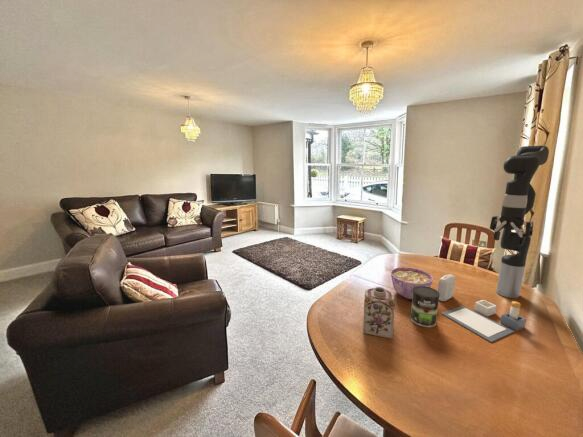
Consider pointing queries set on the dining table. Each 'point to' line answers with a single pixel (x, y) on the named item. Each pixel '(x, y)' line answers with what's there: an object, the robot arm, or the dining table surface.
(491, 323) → the writing board
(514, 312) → the marker
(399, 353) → the dining table surface
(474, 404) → the dining table surface
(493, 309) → the cup
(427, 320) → the coffee can
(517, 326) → the cup
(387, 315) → the decorative jar
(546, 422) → the dining table surface
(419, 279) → the bowl of food
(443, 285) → the photo printer
